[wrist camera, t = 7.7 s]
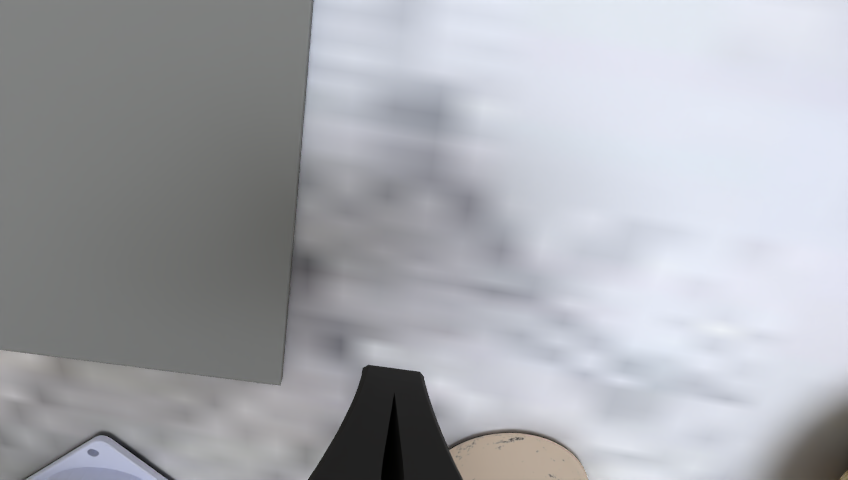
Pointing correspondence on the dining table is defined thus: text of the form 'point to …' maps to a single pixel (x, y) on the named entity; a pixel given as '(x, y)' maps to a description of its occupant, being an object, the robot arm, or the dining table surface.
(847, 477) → the cantaloupe
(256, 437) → the dining table surface
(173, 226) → the mat
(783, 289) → the dining table surface
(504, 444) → the teacup with lid
